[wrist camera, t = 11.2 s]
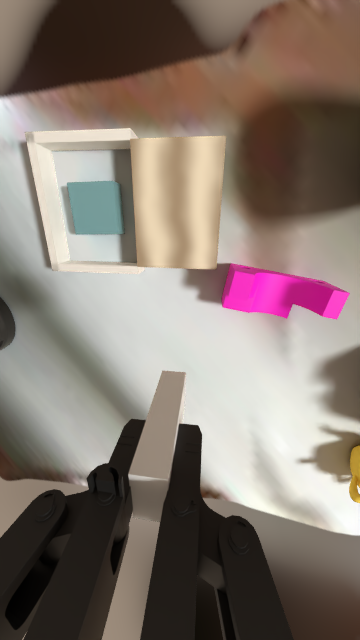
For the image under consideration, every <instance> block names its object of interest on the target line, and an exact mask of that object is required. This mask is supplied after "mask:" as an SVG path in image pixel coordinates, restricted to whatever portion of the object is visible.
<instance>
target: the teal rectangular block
mask: <svg viewBox="0 0 360 640" xmlns="http://www.w3.org/2000/svg"><path fill="white" fill-rule="evenodd" d="M67 186H68V192H69V198H70V204H71V209H72V215H73V221H74V227H75V232H76V234H125V230H124V220H123V209H122V199H121V189H120V184H119V183H116V182H114V181H97V182H72V183H67Z"/></svg>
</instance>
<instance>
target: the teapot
mask: <svg viewBox="0 0 360 640" xmlns="http://www.w3.org/2000/svg"><path fill="white" fill-rule="evenodd" d="M350 468H351V473H352V476H353V478H352V480H351V483H350V487H349V493H350V497H351V498H352V500H353V501H355V502H357V503H360V494H359V493H358V490H357V485H358V486H359V488H360V445H359V446H356V447H354V448H353V450H352V452H351V456H350Z"/></svg>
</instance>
